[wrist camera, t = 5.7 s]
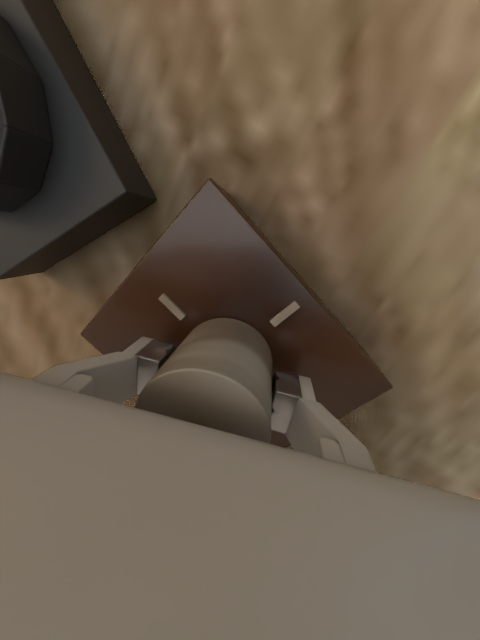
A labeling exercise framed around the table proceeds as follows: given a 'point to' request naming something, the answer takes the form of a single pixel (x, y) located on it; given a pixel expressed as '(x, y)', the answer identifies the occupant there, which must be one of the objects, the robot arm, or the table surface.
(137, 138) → the table surface
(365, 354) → the dial base
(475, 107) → the table surface
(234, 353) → the knob
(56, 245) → the button box
